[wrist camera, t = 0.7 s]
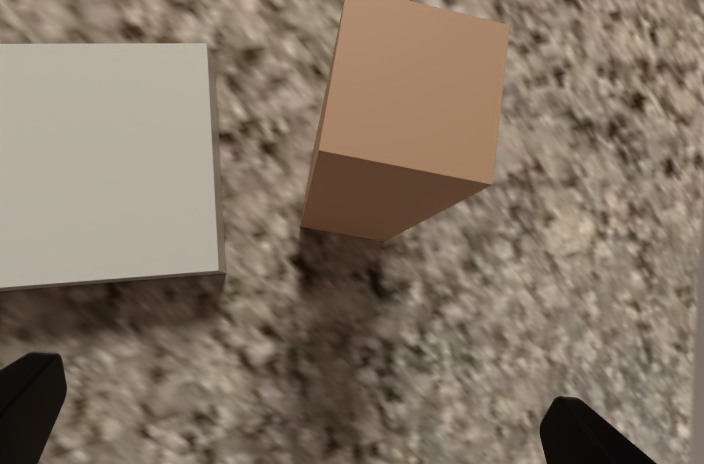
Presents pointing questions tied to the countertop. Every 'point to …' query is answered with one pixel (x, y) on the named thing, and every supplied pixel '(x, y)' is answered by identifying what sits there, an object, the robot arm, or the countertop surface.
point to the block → (404, 117)
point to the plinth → (108, 164)
